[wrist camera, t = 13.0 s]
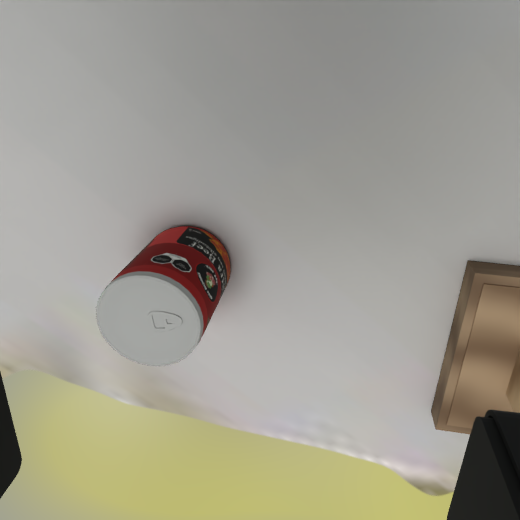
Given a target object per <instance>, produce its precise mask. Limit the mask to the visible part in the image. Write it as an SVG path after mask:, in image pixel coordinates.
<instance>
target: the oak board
mask: <svg viewBox="0 0 520 520" xmlns="http://www.w3.org/2000/svg"><path fill="white" fill-rule="evenodd" d="M519 349H520V266H515V265H505V264H496V263H486V262H476V261H468V262H467V266H466V270H465V274H464V278H463V282H462V286H461V290H460V295H459V299H458V303H457V307H456V311H455V315H454V319H453V323H452V327H451V332H450V336H449V340H448V344H447V348H446V352H445V356H444V360H443V364H442V369H441V373H440V377H439V381H438V385H437V389H436V393H435V397H434V401H433V406H432V410H431V413H432V417H433V421H434V425H435V429H437V430H444V431H451V432H458V433H465V434H471V430H472V427H473V423H474V420H475V418H476V417H478V416H480V417H484V416H485V414H486V412H487V411H488V410H500V411H508V412H514V411H513V408H512V406H511V404H510V402H509V400H508V398H507V396H506V391H507V388H508V384H509V381H510V378H511V375H512V372H513V368H514V365H515V362H516V359H517V356H518V352H519Z"/></svg>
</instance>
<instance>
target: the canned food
mask: <svg viewBox="0 0 520 520" xmlns="http://www.w3.org/2000/svg"><path fill="white" fill-rule="evenodd" d="M229 277H230V261H229V257H228V254H227V252H226V250H225V248H224V246H223V245H222V244H221V242H220V241H219V240H218V239H217V238H216V237H215V236H213V235H212V234H210V233H209V232H207V231H205V230H202V229H200V228H196V227H191V226H181V227H175V228H171V229H168V230H165V231H163V232H162V233H160V234H159V235H157V236H156V237H155V238H154V239H153V240H152V241H151V242H150V243H149V244H148V245H147V246H146V247H145V248H144V249H143V250H142V251H141V252H140V253H139V254H138V255H137V256H136V257H135V258H134V259H133V260H132V261H131V262H130V263H129V264H128V265H127V266H126V267H125V268H124V269H123V270H122V271H121V272H120V273H119V274H118V275H117V276H116V277H115V278H114V279H113V280H112V281H111V283H110V284H109V285H108V286H107V287H106V288H105V290H104V291H103V292H102V294H101V296H100V298H99V300H98V303H97V307H96V318H97V324H98V327H99V329H100V332H101V334H102V335H103V337H104V338H105V340H106V341H107V343H108V344H109V345H110V346H111V347H112V348H113V349H114V350H115V351H117V352H118V353H119V354H120V355H122V356H124V357H126V358H127V359H129V360H131V361H134V362H137V363H139V364H144V365H148V366H165V365H170V364H174V363H177V362H179V361H181V360H183V359H185V358H186V357H187V356H188V355H189V354H190V353H192V351H193V350H194V349H195V347H196V346H197V344H198V343H199V341H200V339H201V337H202V336H203V334H204V332H205V330H206V328H207V325H208V323H209V321H210V319H211V317H212V315H213V313H214V311H215V309H216V306H217V304H218V302H219V300H220V298H221V296H222V294H223V292H224V290H225V287H226V285H227V283H228V280H229Z"/></svg>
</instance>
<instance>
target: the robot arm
mask: <svg viewBox="0 0 520 520" xmlns="http://www.w3.org/2000/svg"><path fill="white" fill-rule="evenodd" d="M21 461H22V458H21V452H20V448H19V445H18V441H17V437H16V433H15V429H14V425H13V421H12V417H11V413H10V409H9V405H8V401H7V397H6V393H5V389H4V385H3V381H2V377H1V373H0V498H1V496H2V495H3V494H4V492H5V491H6V490H7V488H8V487H9V486H10V484H11V483H12V481H13V480H14V478H15V477H16V475H17V474H18V472H19V469H20V466H21ZM447 520H520V413H517V412H508V411H500V410H488V411H487V412H486V414H485V416H484V417H480V416H478V417H476V418H475V420H474V423H473V427H472V430H471V434H470V437H469V441H468V444H467V448H466V452H465V455H464V459H463V462H462V466H461V469H460V473H459V476H458V480H457V483H456V487H455V490H454V494H453V498H452V501H451V505H450V508H449V512H448V516H447Z"/></svg>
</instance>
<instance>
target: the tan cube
mask: <svg viewBox="0 0 520 520" xmlns="http://www.w3.org/2000/svg"><path fill="white" fill-rule="evenodd" d="M506 396H507V398H508V400H509V402H510V404H511V406H512V408H513V411H514V412H517V413H520V349H519V352H518V356H517V359H516V362H515V365H514V368H513V372H512V375H511V378H510V381H509V384H508V388H507V391H506Z"/></svg>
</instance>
